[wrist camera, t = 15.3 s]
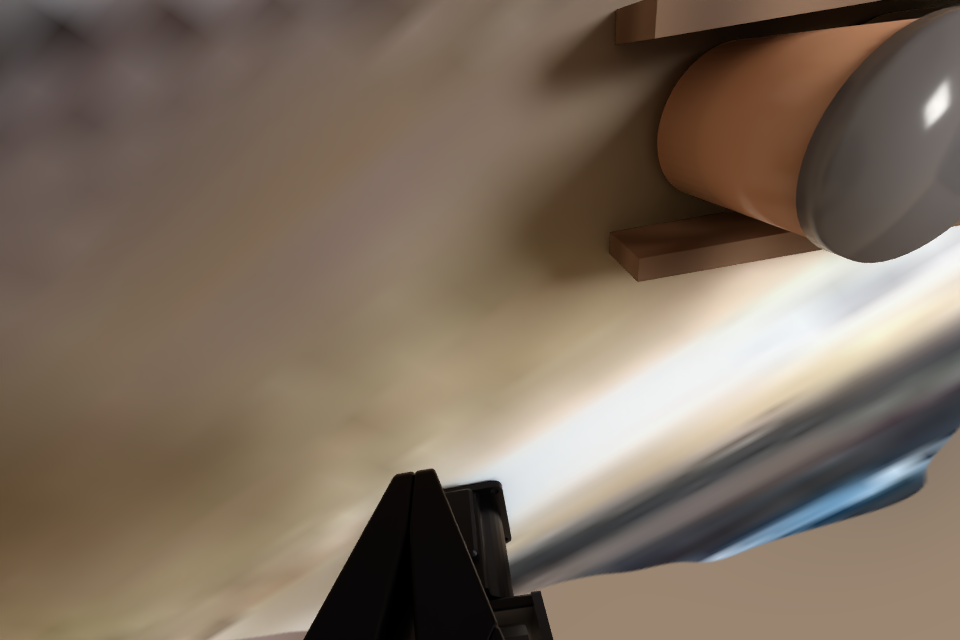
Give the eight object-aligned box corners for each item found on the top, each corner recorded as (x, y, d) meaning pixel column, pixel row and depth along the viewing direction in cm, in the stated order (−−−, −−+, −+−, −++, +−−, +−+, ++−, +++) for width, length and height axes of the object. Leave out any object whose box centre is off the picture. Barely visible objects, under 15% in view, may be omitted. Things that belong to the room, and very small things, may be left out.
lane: (609, 253, 19) (649, 293, 15) (616, 9, 14) (676, -12, 10) (969, 190, 19) (1088, 216, 15) (1097, -72, 14) (1310, -118, 11)
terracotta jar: (775, 178, 18) (984, 229, 12) (652, 215, 17) (801, 288, 11) (804, 16, 15) (1110, -31, 8) (655, 55, 14) (864, 36, 8)
